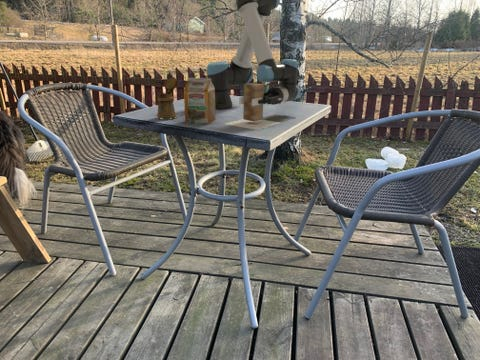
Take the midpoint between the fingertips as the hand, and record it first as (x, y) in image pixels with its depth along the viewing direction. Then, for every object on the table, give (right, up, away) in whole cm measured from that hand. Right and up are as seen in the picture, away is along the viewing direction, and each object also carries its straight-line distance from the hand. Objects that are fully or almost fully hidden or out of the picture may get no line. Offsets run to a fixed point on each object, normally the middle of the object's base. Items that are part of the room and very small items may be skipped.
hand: (246, 101), depth 156 cm
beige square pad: (+3, -8, +8) cm, 11 cm away
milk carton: (-20, -7, +11) cm, 24 cm away
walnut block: (+3, -6, +7) cm, 10 cm away
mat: (+15, -4, +19) cm, 24 cm away
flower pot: (+10, +15, +68) cm, 70 cm away
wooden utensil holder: (-36, -3, +20) cm, 42 cm away
